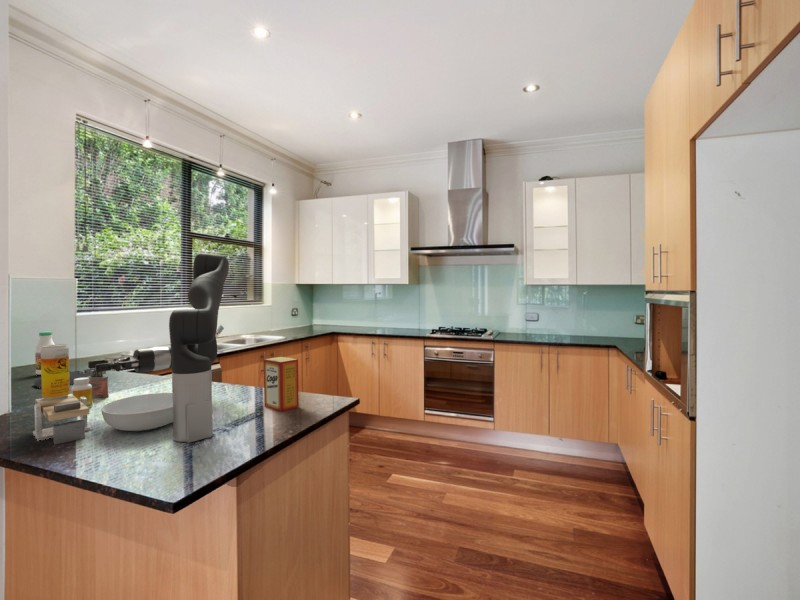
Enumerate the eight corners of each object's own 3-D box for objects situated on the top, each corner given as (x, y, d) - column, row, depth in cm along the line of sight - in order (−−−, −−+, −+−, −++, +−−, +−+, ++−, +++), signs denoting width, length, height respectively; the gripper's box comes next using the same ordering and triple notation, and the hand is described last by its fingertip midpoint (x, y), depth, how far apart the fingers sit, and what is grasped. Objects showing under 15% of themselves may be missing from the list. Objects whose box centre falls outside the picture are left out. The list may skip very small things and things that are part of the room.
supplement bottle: (95, 407, 134) (94, 378, 134) (75, 411, 130) (74, 381, 130) (88, 404, 137) (87, 376, 137) (69, 408, 133) (68, 379, 133)
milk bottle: (41, 373, 193) (40, 331, 192) (60, 372, 195) (59, 330, 194) (32, 376, 185) (30, 332, 185) (52, 375, 188) (51, 332, 187)
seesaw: (89, 414, 106) (89, 402, 106) (49, 422, 100) (48, 409, 100) (71, 399, 120) (71, 388, 120) (35, 405, 114) (35, 393, 114)
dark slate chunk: (30, 386, 168) (30, 374, 168) (94, 376, 186) (94, 366, 186) (39, 391, 159) (39, 379, 159) (106, 381, 177) (105, 370, 176)
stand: (96, 435, 107) (95, 403, 107) (41, 447, 99) (40, 413, 99) (83, 423, 117) (83, 394, 117) (32, 434, 109) (31, 403, 109)
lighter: (84, 397, 147) (84, 370, 147) (93, 395, 150) (93, 368, 150) (102, 398, 145) (101, 371, 145) (111, 396, 148) (110, 369, 148)
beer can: (53, 401, 112) (52, 347, 112) (36, 400, 114) (34, 346, 113) (75, 395, 118) (74, 344, 118) (58, 394, 119) (57, 343, 119)
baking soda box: (264, 406, 133) (263, 358, 133) (281, 402, 138) (280, 355, 138) (281, 411, 127) (280, 361, 127) (298, 407, 132) (297, 358, 132)
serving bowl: (81, 437, 106) (80, 411, 106) (142, 413, 127) (142, 391, 127) (153, 441, 103) (153, 414, 103) (204, 415, 124) (203, 393, 124)
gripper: (144, 346, 138) (85, 352, 126) (159, 350, 129) (97, 356, 117) (145, 368, 139) (86, 376, 126) (160, 373, 129) (98, 382, 117)
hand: (91, 366), depth 122 cm, fingers open, 8 cm apart
